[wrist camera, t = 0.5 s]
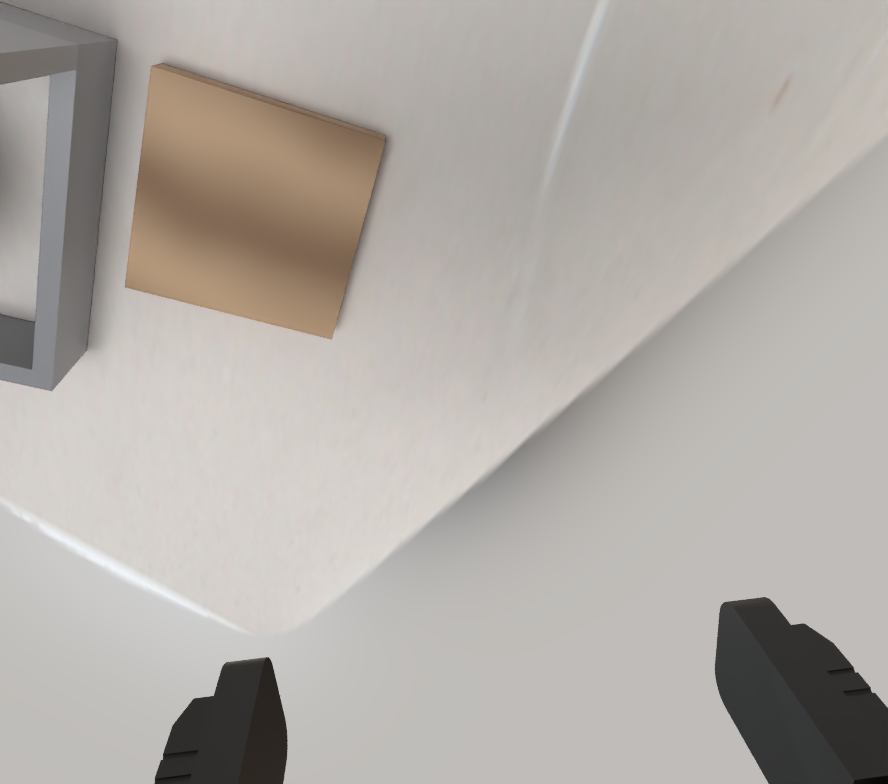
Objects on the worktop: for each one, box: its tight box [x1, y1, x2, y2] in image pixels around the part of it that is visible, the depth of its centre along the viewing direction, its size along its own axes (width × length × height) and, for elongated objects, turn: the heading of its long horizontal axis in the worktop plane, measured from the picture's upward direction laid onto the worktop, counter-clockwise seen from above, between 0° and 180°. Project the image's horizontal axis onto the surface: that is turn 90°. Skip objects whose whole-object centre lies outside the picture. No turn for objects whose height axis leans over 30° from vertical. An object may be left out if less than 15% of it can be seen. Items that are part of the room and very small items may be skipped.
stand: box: [125, 63, 385, 339], centre depth 30 cm, size 9×9×2 cm
